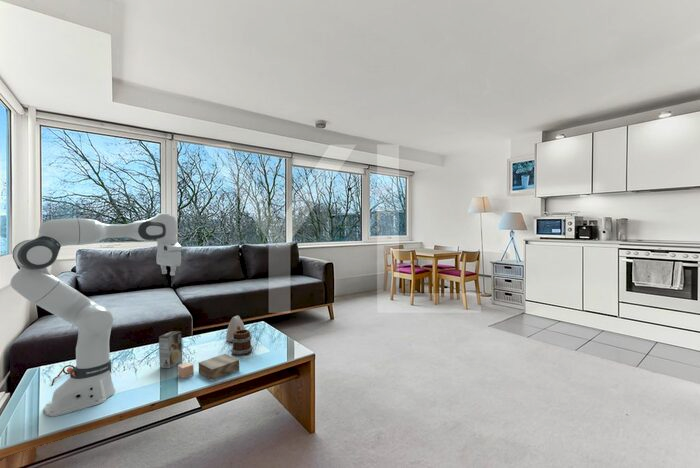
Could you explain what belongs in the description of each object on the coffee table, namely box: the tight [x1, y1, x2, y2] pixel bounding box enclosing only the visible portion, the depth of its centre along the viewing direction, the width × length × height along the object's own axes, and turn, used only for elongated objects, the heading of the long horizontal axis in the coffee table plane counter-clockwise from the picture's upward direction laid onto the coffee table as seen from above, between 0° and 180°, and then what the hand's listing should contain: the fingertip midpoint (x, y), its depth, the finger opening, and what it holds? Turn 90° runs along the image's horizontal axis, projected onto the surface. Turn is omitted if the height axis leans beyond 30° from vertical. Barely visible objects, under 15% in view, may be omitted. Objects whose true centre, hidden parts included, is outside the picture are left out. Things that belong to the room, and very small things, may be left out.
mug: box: [230, 326, 254, 357], centre depth 184 cm, size 12×14×15 cm
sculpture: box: [225, 315, 246, 343], centre depth 205 cm, size 13×12×15 cm
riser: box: [198, 353, 240, 381], centre depth 159 cm, size 14×13×5 cm
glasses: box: [50, 364, 75, 387], centre depth 155 cm, size 13×13×5 cm
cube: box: [177, 361, 195, 379], centre depth 155 cm, size 5×5×5 cm
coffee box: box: [158, 330, 183, 369], centre depth 168 cm, size 9×6×16 cm
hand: (168, 274), depth 160 cm, fingers open, 8 cm apart
